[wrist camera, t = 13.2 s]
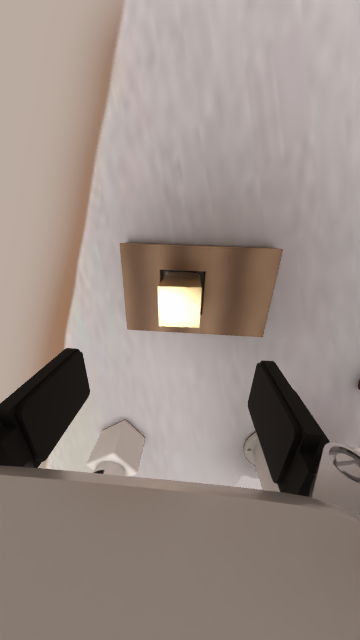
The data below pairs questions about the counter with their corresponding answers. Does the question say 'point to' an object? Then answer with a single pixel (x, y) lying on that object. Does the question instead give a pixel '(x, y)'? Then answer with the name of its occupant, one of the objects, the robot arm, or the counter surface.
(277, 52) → the counter surface
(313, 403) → the counter surface
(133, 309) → the walnut square hole board
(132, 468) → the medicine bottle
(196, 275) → the brass peg
